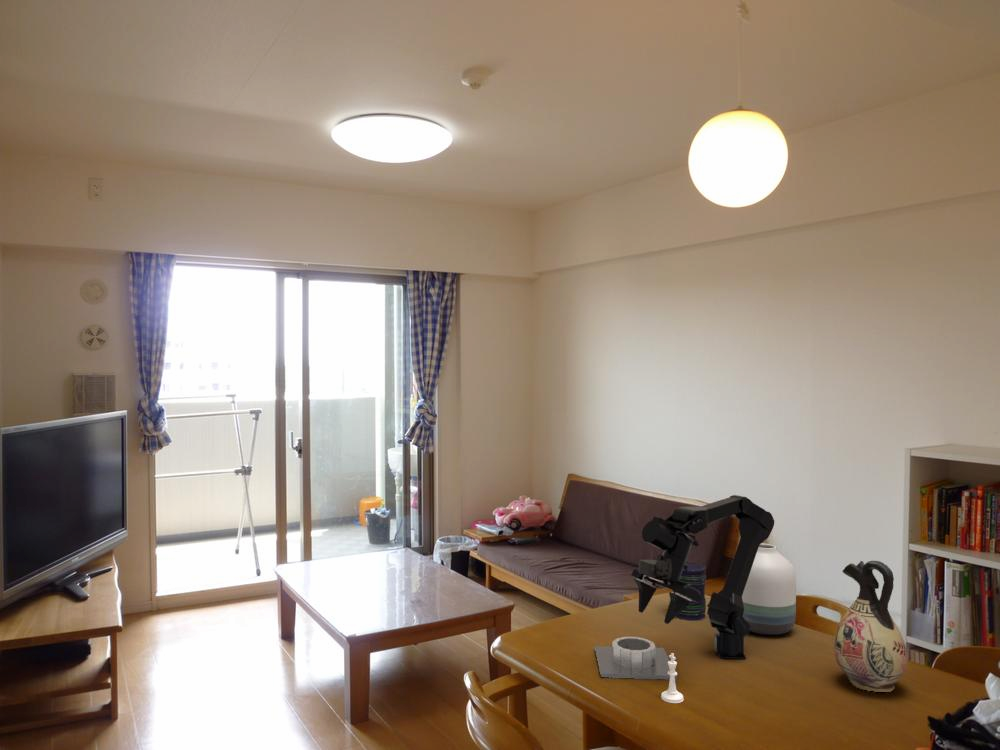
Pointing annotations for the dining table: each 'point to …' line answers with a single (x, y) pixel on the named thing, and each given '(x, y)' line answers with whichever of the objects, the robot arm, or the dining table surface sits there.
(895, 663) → the ceramic jug
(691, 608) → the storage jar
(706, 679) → the dining table surface
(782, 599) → the vase
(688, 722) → the dining table surface
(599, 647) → the duct collar
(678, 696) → the chess piece
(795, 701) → the dining table surface
